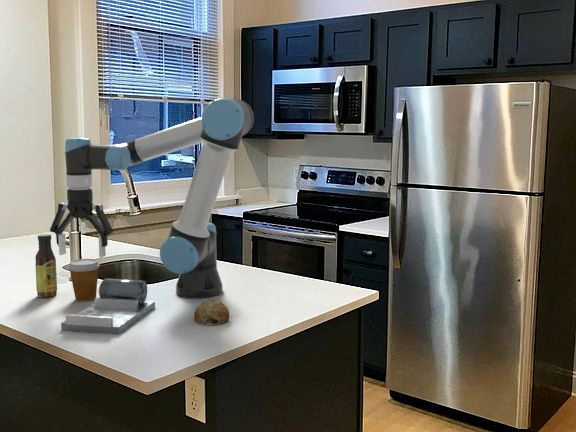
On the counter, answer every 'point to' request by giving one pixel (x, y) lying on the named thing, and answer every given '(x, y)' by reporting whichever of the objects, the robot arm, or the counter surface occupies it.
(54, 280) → the sauce bottle
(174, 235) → the robot arm
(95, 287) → the disposable coffee cup
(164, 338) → the counter surface
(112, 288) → the block
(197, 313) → the bread roll
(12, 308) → the counter surface
